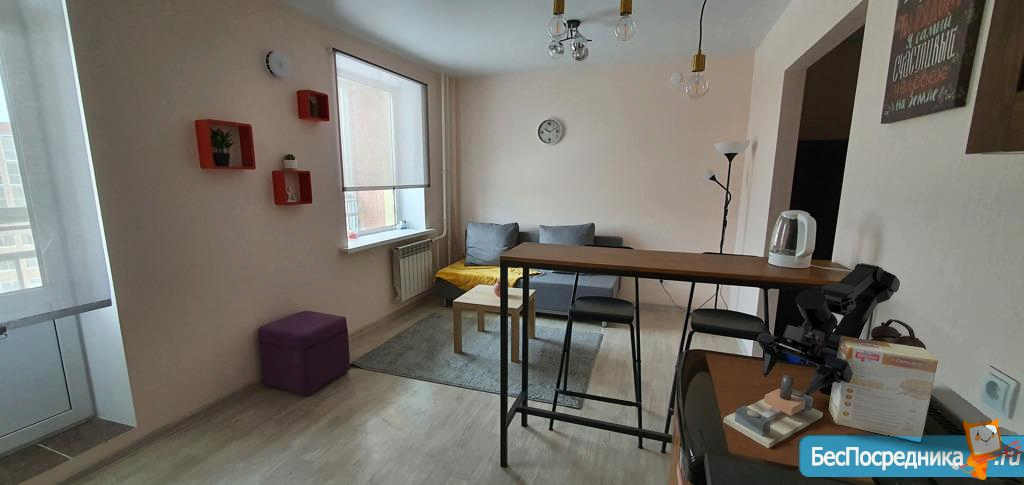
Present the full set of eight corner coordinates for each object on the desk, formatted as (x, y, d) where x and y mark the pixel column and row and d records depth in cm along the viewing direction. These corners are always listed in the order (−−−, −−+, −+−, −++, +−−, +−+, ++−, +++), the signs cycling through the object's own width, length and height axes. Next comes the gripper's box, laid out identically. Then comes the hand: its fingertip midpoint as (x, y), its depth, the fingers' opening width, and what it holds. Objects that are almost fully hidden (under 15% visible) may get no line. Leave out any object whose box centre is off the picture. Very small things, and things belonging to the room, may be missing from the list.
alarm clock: (926, 410, 97) (943, 334, 94) (892, 407, 99) (907, 331, 95) (884, 380, 111) (898, 313, 108) (855, 377, 113) (867, 311, 109)
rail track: (777, 396, 103) (779, 380, 102) (822, 417, 94) (825, 399, 93) (723, 422, 92) (725, 404, 91) (768, 448, 83) (770, 429, 82)
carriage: (777, 395, 98) (781, 368, 97) (804, 408, 93) (809, 380, 92) (763, 402, 95) (767, 374, 94) (790, 415, 90) (795, 386, 89)
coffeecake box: (907, 425, 91) (923, 347, 88) (922, 444, 85) (940, 360, 81) (826, 408, 98) (839, 334, 94) (835, 424, 91) (849, 345, 88)
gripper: (765, 302, 100) (734, 351, 97) (855, 327, 84) (822, 387, 81) (778, 325, 105) (749, 373, 102) (865, 353, 89) (834, 411, 86)
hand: (784, 384), depth 93 cm, fingers open, 9 cm apart
